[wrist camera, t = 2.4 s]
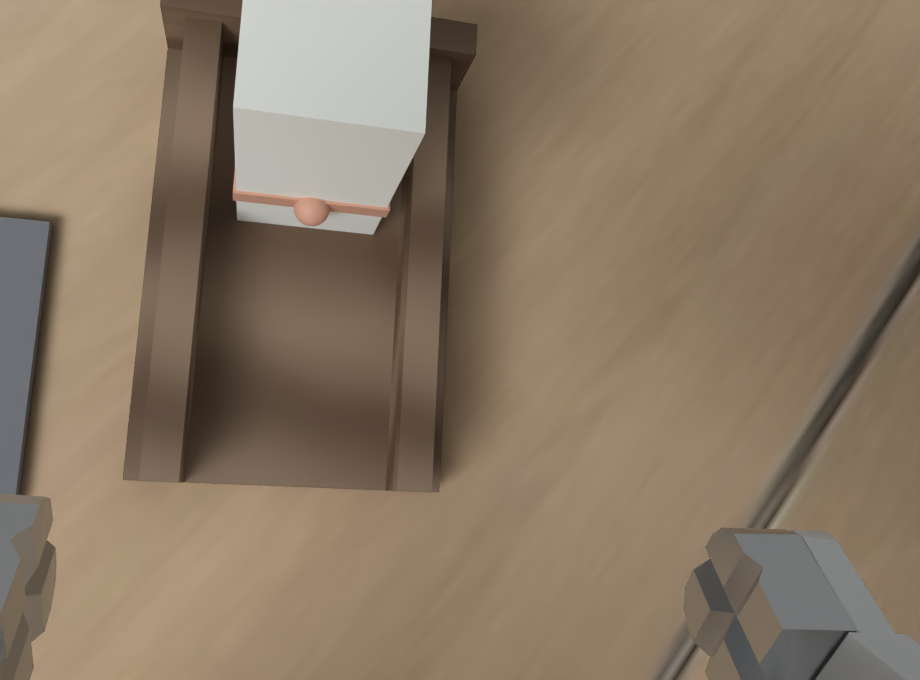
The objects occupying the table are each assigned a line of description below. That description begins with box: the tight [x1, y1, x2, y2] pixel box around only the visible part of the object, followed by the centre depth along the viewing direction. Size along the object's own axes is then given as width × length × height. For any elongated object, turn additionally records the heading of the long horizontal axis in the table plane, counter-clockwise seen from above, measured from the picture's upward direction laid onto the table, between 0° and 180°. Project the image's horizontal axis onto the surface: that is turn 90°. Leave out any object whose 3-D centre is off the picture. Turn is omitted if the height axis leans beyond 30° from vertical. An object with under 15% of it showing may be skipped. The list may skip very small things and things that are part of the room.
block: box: [233, 0, 432, 235], centre depth 28 cm, size 6×5×10 cm
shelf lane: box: [123, 0, 477, 492], centre depth 31 cm, size 17×11×4 cm, turn 178°
